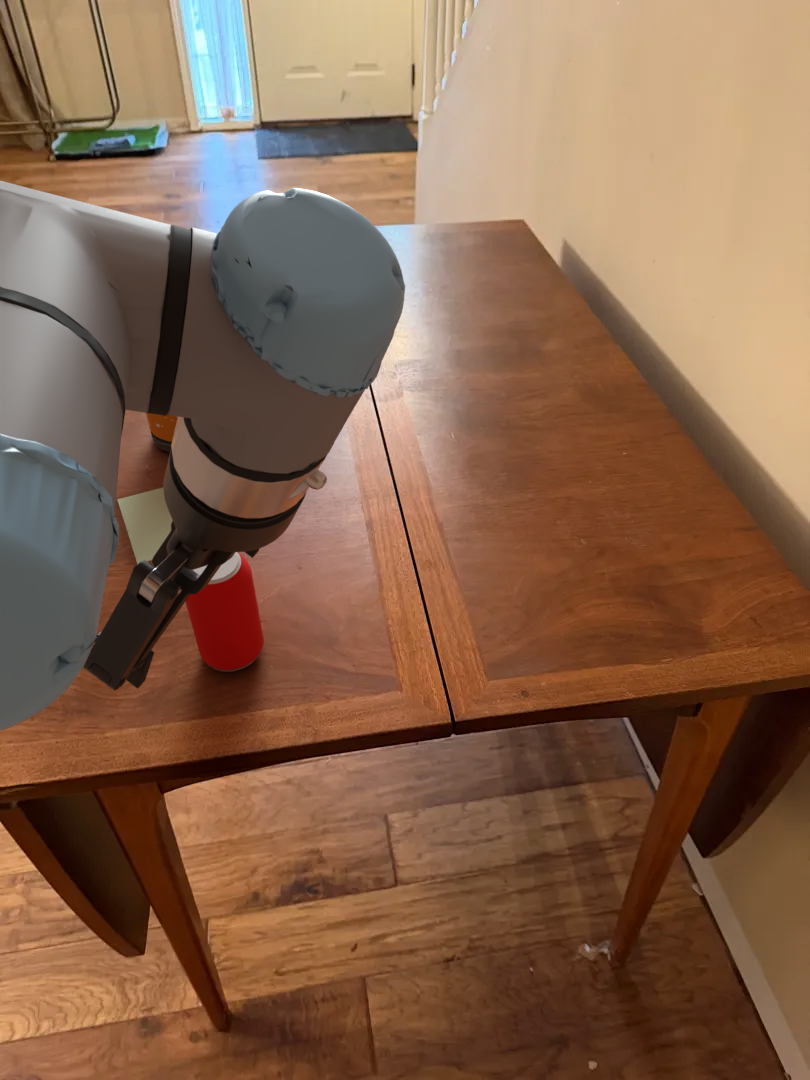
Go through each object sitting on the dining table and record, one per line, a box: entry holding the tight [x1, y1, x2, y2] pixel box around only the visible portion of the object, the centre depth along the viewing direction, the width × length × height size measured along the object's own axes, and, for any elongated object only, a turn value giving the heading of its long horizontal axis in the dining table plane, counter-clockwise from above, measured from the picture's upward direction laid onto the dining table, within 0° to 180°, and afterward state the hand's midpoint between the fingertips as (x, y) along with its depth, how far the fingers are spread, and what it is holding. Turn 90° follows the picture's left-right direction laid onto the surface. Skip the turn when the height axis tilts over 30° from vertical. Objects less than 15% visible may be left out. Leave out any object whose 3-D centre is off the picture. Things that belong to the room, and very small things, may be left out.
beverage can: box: [185, 552, 265, 672], centre depth 71 cm, size 6×6×12 cm
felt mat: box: [116, 486, 173, 565], centre depth 90 cm, size 12×12×1 cm
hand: (187, 605), depth 59 cm, fingers open, 13 cm apart
